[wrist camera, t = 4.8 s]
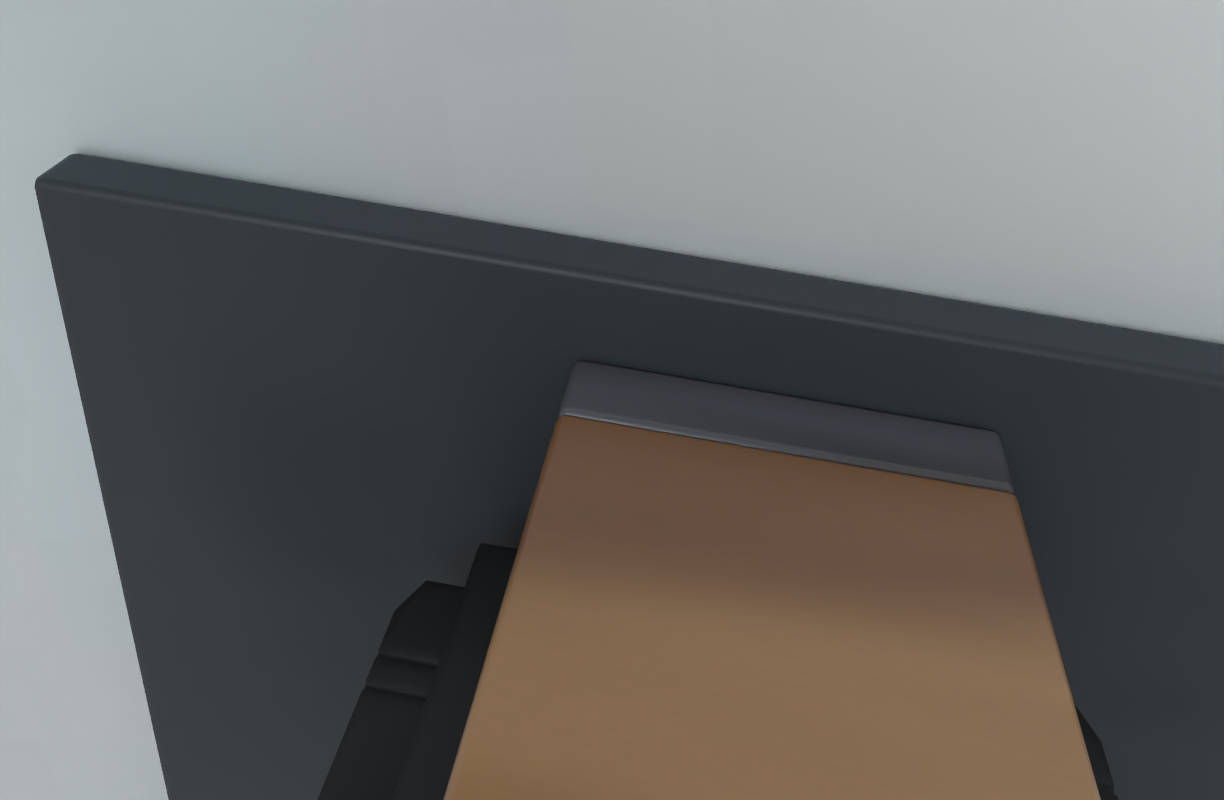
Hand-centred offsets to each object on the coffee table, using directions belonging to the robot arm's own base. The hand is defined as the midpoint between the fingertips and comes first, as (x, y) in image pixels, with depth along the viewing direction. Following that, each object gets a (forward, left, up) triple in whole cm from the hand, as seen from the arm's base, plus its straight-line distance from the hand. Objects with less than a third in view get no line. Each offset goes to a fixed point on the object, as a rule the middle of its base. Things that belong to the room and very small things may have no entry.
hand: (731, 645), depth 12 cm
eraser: (0, 0, -1) cm, 1 cm away
